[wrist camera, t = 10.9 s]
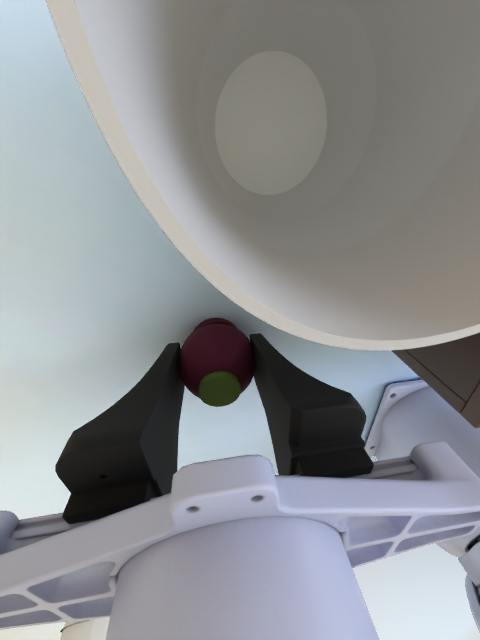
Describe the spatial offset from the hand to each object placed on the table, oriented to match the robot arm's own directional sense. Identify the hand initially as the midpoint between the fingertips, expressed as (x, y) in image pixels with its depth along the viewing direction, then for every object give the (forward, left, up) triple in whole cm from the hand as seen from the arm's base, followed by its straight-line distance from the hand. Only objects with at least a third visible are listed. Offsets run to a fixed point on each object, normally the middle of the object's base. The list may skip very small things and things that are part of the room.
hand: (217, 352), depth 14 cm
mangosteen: (0, 0, -1) cm, 1 cm away
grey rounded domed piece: (-39, +20, -2) cm, 44 cm away
